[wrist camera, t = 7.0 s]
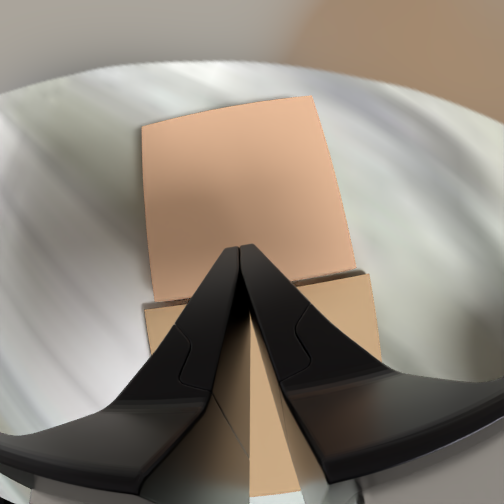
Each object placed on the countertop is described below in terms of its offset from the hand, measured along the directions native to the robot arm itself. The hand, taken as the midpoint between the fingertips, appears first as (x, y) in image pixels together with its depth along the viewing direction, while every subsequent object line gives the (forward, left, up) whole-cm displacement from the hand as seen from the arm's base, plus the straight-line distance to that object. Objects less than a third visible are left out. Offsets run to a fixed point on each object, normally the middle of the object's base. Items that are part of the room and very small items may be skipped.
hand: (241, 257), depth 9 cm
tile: (0, +1, -7) cm, 7 cm away
